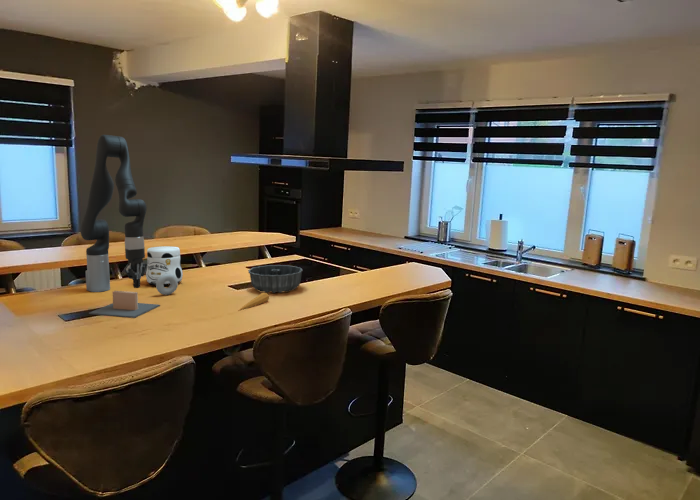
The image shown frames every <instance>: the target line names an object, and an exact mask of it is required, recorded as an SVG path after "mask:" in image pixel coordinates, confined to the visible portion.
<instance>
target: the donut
mask: <svg viewBox="0 0 700 500" xmlns="http://www.w3.org/2000/svg"><path fill="white" fill-rule="evenodd" d="M166 281H169V282H170V285H168V287H165V285H164V283H165V282H166ZM155 286H156V287H155V288H156V290H157V292H158V293H159V294H161V295H163V296H169V295H171V294H172V295H173V293H175V292H176V291H177V289H178V286H179V283H178V281H177V278H176V277H175V276H174V275H172V274H163V275H162V276H160V277H159V278H158V280H157V282H156V285H155Z"/></svg>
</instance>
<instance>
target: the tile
mask: <svg viewBox="0 0 700 500" xmlns="http://www.w3.org/2000/svg"><path fill="white" fill-rule="evenodd" d="M138 301H139V298H138V292H137V291H124V290H123V291H122V290H113V291H112V303H113V308H115V309H127V310H137V309H138V303H139V302H138Z"/></svg>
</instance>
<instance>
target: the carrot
mask: <svg viewBox="0 0 700 500" xmlns="http://www.w3.org/2000/svg"><path fill="white" fill-rule="evenodd" d="M269 300H270V295H269V294H268V293H267V292H260V294H258V295H257V296H255V297H254V298H253V299H251V300H250V301H249V302H247V303H246V304H244V305H243V306H242V307H240V308H239V309H237V311H238V312H239V311H243V310H246V309H249V307H250V308H252V306H253V307H255V305H256V306H258V304H259V305H261V303H262V304H264V302H265V303H267V302H268V301H269ZM242 309H243V310H242Z"/></svg>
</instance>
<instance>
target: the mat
mask: <svg viewBox="0 0 700 500" xmlns="http://www.w3.org/2000/svg"><path fill="white" fill-rule="evenodd" d="M160 306H161V304H157V303H155V304H154V303H145V302H143V303H142V302H138V309H137V310H127V309H115V308H113V302H112V303H110V304H108V305H107V304H106V305H104V306H102V307H99V308H97V309H95V310H93V311H90V312H88V315H94V316H95V315H96V316H107V317H117V318H118V317H119V318H131V319H135V318H138V317H140V316H142V315H144V314H146V313H148V312H150V311H152V310H154V309H156V308H159V307H160Z"/></svg>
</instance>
